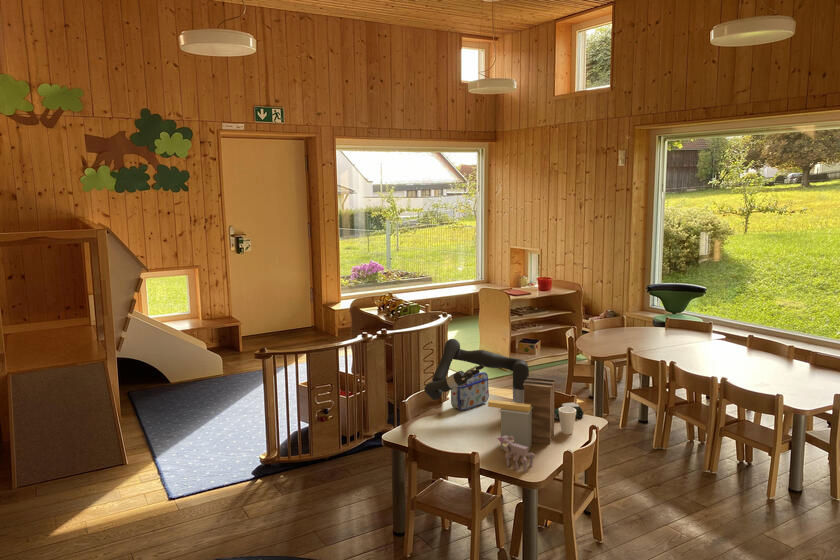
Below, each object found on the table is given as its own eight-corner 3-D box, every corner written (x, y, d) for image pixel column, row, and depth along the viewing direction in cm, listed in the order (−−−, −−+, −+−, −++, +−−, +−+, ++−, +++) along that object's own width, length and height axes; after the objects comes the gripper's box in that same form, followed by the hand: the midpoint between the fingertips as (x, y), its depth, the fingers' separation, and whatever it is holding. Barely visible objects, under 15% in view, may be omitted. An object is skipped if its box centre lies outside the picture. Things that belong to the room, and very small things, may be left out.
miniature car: (550, 416, 381) (550, 403, 380) (578, 412, 385) (578, 400, 384) (556, 421, 373) (556, 408, 371) (585, 418, 376) (585, 405, 375)
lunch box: (459, 414, 387) (458, 379, 383) (447, 409, 395) (446, 375, 391) (490, 402, 405) (490, 369, 401) (479, 398, 412) (478, 365, 408)
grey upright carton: (505, 440, 348) (505, 403, 345) (532, 444, 343) (532, 406, 339) (499, 449, 338) (499, 410, 335) (528, 453, 333) (528, 414, 329)
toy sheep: (490, 462, 324) (491, 436, 322) (502, 456, 332) (503, 430, 330) (524, 474, 311) (525, 447, 309) (536, 467, 319) (537, 440, 317)
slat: (490, 404, 344) (490, 399, 344) (531, 408, 336) (531, 404, 335) (488, 406, 340) (488, 402, 340) (529, 411, 332) (529, 407, 332)
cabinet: (528, 431, 360) (528, 375, 354) (555, 435, 354) (555, 377, 348) (522, 440, 348) (522, 382, 342) (550, 444, 342) (551, 385, 336)
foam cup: (578, 431, 358) (579, 409, 356) (570, 436, 352) (570, 414, 349) (563, 427, 365) (563, 405, 362) (555, 432, 358) (555, 410, 355)
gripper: (449, 377, 349) (473, 365, 343) (457, 370, 362) (481, 358, 356) (456, 390, 349) (480, 378, 342) (464, 381, 362) (488, 370, 355)
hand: (481, 368), depth 349 cm, fingers open, 8 cm apart
